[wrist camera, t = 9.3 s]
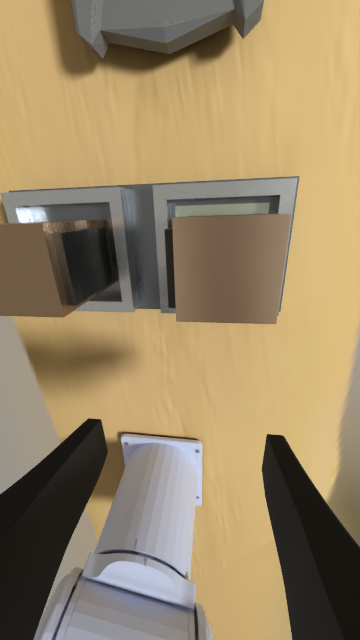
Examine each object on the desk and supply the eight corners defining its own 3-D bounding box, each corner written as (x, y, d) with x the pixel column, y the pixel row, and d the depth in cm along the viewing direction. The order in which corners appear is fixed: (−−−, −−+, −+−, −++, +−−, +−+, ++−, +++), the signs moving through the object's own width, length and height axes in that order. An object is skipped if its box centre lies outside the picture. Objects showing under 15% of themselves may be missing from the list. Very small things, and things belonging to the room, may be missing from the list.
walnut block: (261, 213, 14) (290, 213, 8) (254, 284, 15) (275, 324, 10) (182, 216, 14) (160, 218, 9) (184, 283, 16) (166, 321, 10)
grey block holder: (275, 303, 17) (313, 363, 10) (52, 299, 19) (-36, 346, 13) (291, 179, 14) (360, 148, 7) (26, 192, 16) (-108, 178, 10)
